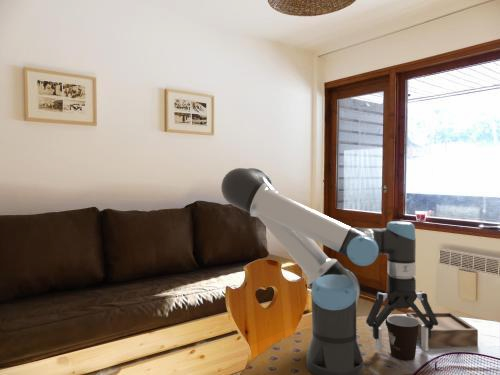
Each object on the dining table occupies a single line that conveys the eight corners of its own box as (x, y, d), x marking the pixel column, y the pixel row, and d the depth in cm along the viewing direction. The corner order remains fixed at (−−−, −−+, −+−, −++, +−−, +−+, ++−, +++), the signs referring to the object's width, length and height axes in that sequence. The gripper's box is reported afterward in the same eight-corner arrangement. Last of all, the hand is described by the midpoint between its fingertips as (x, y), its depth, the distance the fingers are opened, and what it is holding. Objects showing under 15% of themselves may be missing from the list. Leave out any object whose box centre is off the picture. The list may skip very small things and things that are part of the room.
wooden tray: (427, 347, 114) (427, 330, 114) (406, 327, 129) (406, 312, 129) (477, 346, 114) (477, 329, 114) (451, 326, 129) (451, 312, 129)
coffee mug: (422, 364, 104) (422, 327, 103) (389, 361, 105) (389, 325, 105) (413, 345, 115) (413, 312, 115) (383, 343, 117) (383, 311, 116)
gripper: (362, 279, 106) (363, 356, 106) (451, 278, 106) (451, 354, 106) (354, 273, 113) (355, 344, 114) (437, 271, 113) (438, 343, 114)
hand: (401, 349), depth 110 cm, fingers open, 12 cm apart
